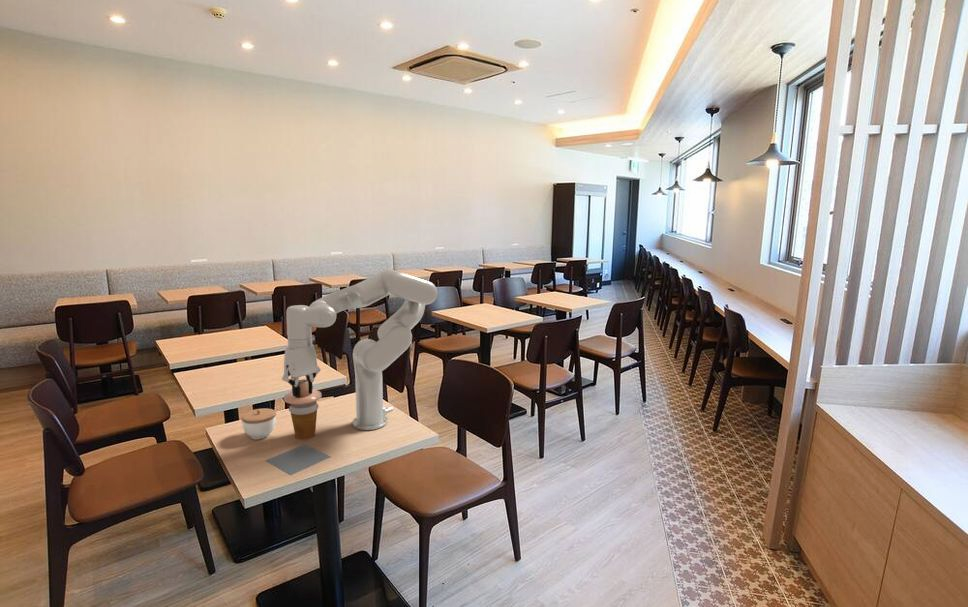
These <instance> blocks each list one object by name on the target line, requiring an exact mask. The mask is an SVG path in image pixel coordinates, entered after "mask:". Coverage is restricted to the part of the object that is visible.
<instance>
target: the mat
mask: <svg viewBox="0 0 968 607" xmlns="http://www.w3.org/2000/svg"><path fill="white" fill-rule="evenodd" d="M330 458H331V455H329V454H327V453H325V452H322V451H320V450H318V449H317V448H314V447H313V446H310V445H308V444H305V443H304V444H302V445H299V446H297V447H294V448H291V449H290V450H287V451H284V452H282V453H279V454H277V455H274V456H273V457H270V458H268V459H265V460H264V461H265V462H267V463H268V464H270V465H272V466H273V467H276V468H277V469H279V470H281V471H282V472H284V473H287V474H288V475H290V476H292V475H295V474H296V473H299V472H301V471H303V470H305V469H308V468H310V467H312V466H314V465H316V464H318V463H320V462H323V461H325V460H328V459H330Z"/></svg>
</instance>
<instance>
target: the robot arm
mask: <svg viewBox="0 0 968 607" xmlns="http://www.w3.org/2000/svg"><path fill="white" fill-rule="evenodd" d="M389 295H392V296H394V297H398V298H400V299H404V302H403V304H402V305H401V306H400V308H398V309H397V311H396V312H395V313H393V314H392V315H391V316H389V318H388V319H387V320H385V321H384V322H383V323H382V324H381V325H380V326H379V327H378V329H377V338H378V340H377V341H375V340H373V339H370V338H363V339H361V340H359V341H357V343H356V344H355V345H354V347H353V350H352V360H353V366H354V375H355V377H354V379H355V407H356V408H355V409H356V410H355V411H356V417H355V418H354V419H353V420H352V421H351V422H352V423H351V424H352V426H353V427H354V428H355V429H356V430H361V431H375V430H378V429H381V428H383V427H385V426H386V425H387V424H388V420H389V419H388V417H387V416H386V415H387V414H390V413H392V412H393V411H394V409H393V407H392V406H389V407H385V406H384V399H383V398H384V397H383V395H384V392H383V391H384V390H383V371H384V370H386V369H387V368H388V367H389V366H390V365H391V364H393V363H394V362H395V361H396V360H397V359H398V358H400V356H401V355H403V354H404V352H405V351H407V350H408V348H410V345H411V343H412V341H413V334H412V329H413V328H414V327H415V326H416V325H417V324H418V323H419V322H420V321H421V319H422V318H423V316H424V314H425V308H426V306H428V305H430V304H433V303H434V302H435V301H436V300H437V297H438V289H437V286H436V285H435V284H434V283H433V282H431V281H428V280H426V279H422V278H418V277H415V276H412V275H410V274H407V273H404V272H401V271H398V270H395V269H390V268H389V269H386V270H383V271H380V272H378V273H376V274H375V275H372V276H371V277H368V278H366V279H364V280H362V281H359V282H358V283H356V284H353V285H350V286H347V287H345V288H342V289H339V290H336V291H334V292H331V293H329V294H326V295H325V296H323V297H320V298H318V299H316V300H315V301H313V302H312V303H311V304H310V305H309V306H308V305H305V304H298V305H290V306H288V307H287V309H286V315H285V316H286V331H287V347H285V350H284V357H283V358H284V360H283V376H282V377H281V381H283V382H286V383H288V384H289V385H290V386H291V390H292V391H291V392H292V394H293V396H295V397H297V398H299V397H300V386H298V381H299V380H300V379H299V378H302V377H304V376H305V380H308V383H309V394H312V390H314V387H313V382H314V381H315V378H316V377H317V375H318V374H319V373H320V372H321V368H320V367H319V366H318V362H317V361H318V359H317V358H318V357H317V352H316V349H315V345H314V344H313V341H315V340H316V339H315V336H314V335H313V334H312V328H328V327H331V326H333V325H334V323H335V322H336V319H337V314H338V313H340V312H342V311H346V310H350V309H360V308H365V307H368V306H371V305H372V304H374V303H376V302H378V301H381V299H384V298H385V297H387V296H389ZM289 377H290V378H289Z"/></svg>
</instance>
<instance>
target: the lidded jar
mask: <svg viewBox="0 0 968 607" xmlns="http://www.w3.org/2000/svg"><path fill="white" fill-rule="evenodd" d="M276 413H277V412H276V411H275V410H274V409H272V408H255V409H252V410H250V411H246V412H245V413H243V414H242V415H241V423H242V428H243V431H244V432H245V434H246V435H247V436H248V437H250V438H251V439H253V440H262V438H263V439H265V437H266V438H268V437H269V436H270V435H271V434H272V432H273V431H274V430H275V427H276V421H277V420H276V418H277V417H276V415H277V414H276Z"/></svg>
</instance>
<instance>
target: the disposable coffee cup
mask: <svg viewBox="0 0 968 607" xmlns="http://www.w3.org/2000/svg"><path fill="white" fill-rule="evenodd" d="M318 409H319V404H318V402H317V401H315V402H311V403H307V404H290V405H289V407H288V411H289V412H290V417H291V420H292V425H293V426H292V428H293V431H294V435H295V438H296V439H297V440H308V439H311V438H313V437H314V436H315V435H316V426H317V418H318V417H317V416H318Z"/></svg>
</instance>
